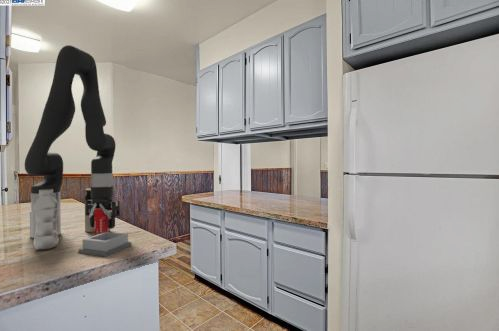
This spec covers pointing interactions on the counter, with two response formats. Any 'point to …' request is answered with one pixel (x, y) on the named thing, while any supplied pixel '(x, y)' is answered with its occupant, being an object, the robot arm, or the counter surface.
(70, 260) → the counter surface
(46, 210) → the plastic bottle
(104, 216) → the beverage can
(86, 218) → the travel mug
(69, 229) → the counter surface
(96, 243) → the can holder
